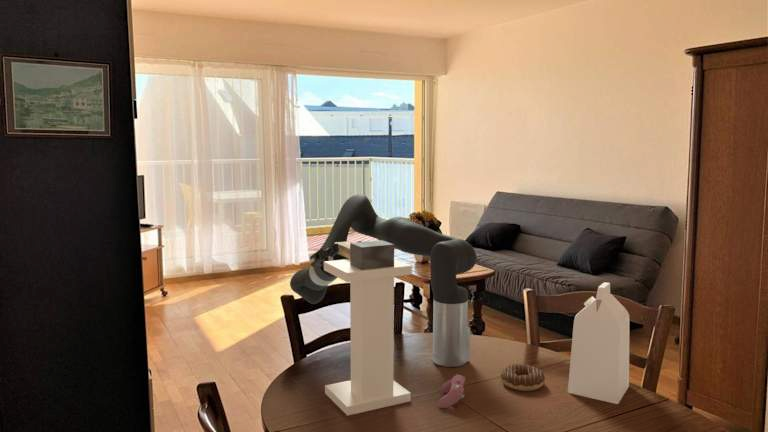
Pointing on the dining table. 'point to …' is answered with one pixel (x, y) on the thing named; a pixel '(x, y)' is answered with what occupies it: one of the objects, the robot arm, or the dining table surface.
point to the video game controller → (452, 391)
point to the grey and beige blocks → (368, 254)
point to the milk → (600, 349)
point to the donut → (522, 377)
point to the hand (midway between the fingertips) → (349, 245)
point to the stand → (369, 339)
